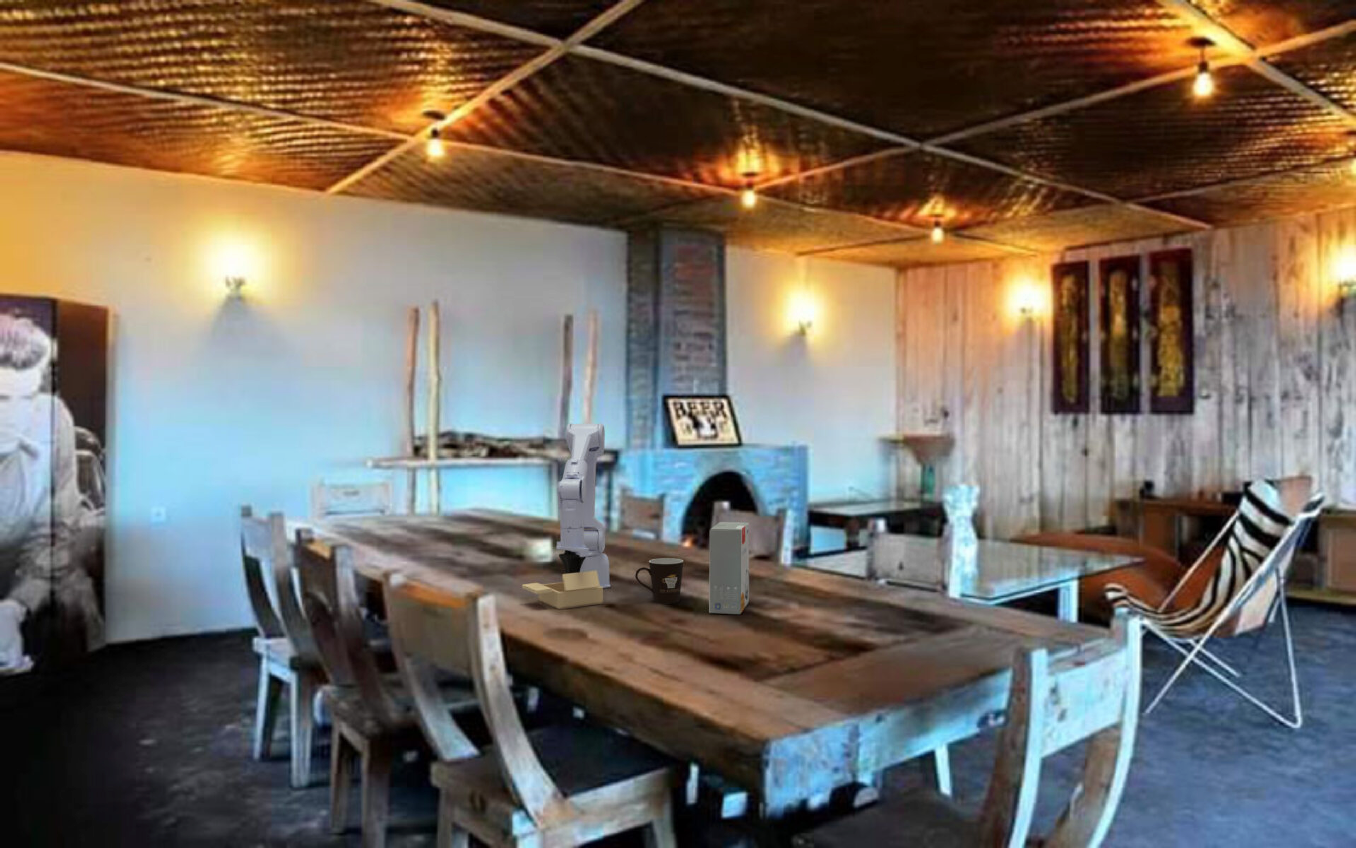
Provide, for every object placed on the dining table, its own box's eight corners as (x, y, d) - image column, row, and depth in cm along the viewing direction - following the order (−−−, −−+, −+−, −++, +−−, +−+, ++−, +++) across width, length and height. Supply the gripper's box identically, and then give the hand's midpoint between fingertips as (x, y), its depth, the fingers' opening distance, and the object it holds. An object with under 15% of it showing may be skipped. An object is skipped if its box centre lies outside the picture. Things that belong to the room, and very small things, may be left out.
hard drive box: (741, 615, 218) (740, 529, 218) (708, 614, 220) (708, 529, 219) (749, 601, 234) (749, 521, 233) (719, 600, 235) (718, 520, 235)
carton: (582, 595, 243) (581, 580, 243) (603, 603, 233) (602, 587, 232) (538, 600, 237) (538, 584, 236) (558, 609, 226) (558, 592, 226)
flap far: (521, 584, 233) (522, 587, 233) (536, 590, 225) (536, 594, 225) (537, 582, 235) (537, 585, 235) (551, 588, 227) (551, 591, 227)
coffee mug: (685, 597, 239) (685, 558, 239) (682, 604, 230) (681, 564, 230) (639, 597, 240) (639, 558, 240) (635, 604, 232) (634, 563, 231)
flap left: (595, 571, 232) (596, 570, 232) (598, 587, 231) (599, 586, 230) (561, 575, 228) (563, 574, 227) (564, 591, 226) (566, 590, 226)
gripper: (545, 525, 237) (546, 579, 237) (569, 531, 225) (570, 588, 225) (571, 523, 241) (571, 576, 241) (596, 529, 228) (596, 585, 229)
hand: (572, 582), depth 233 cm, fingers closed
